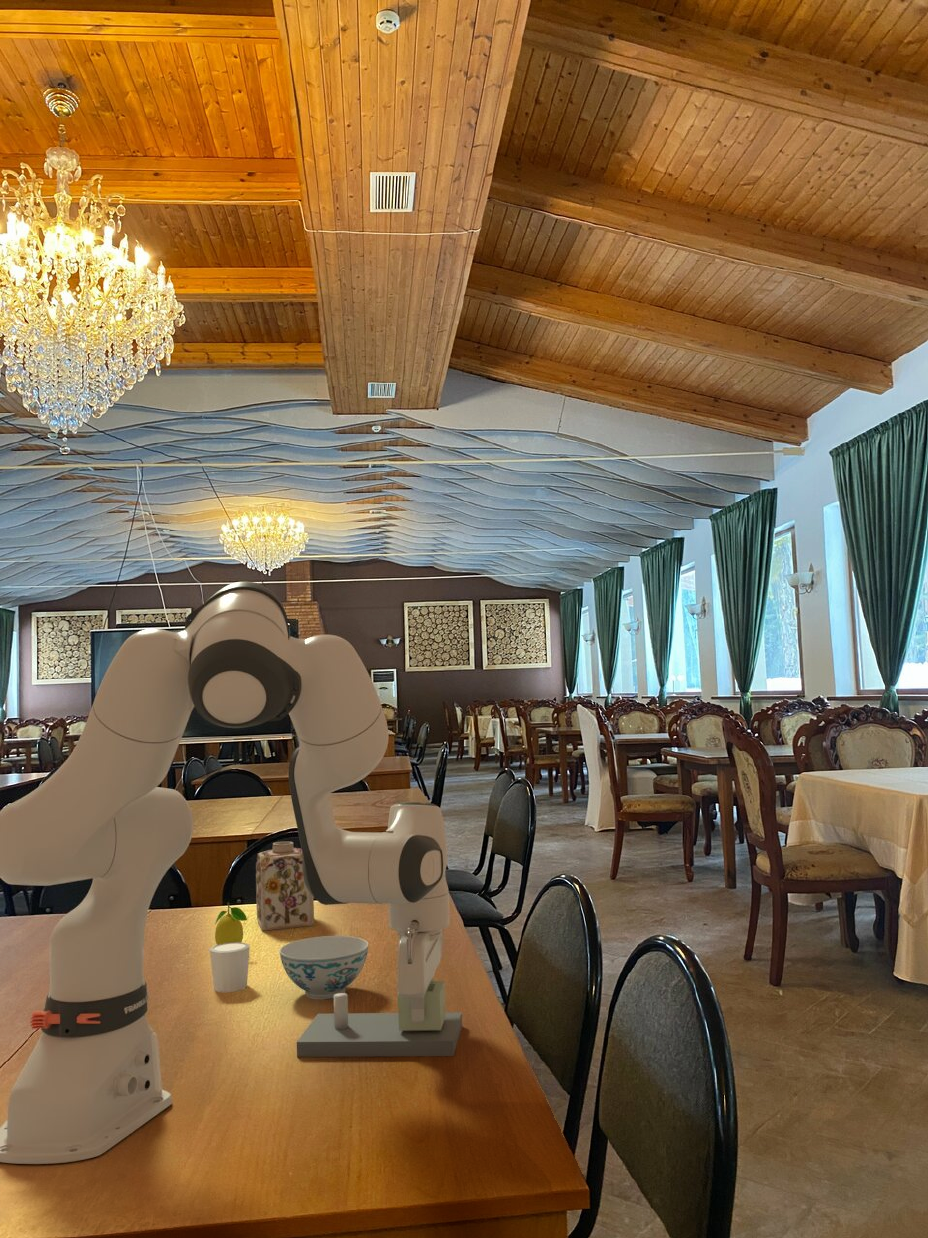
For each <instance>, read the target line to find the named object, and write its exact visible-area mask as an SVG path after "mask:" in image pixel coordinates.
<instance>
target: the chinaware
mask: <svg viewBox="0 0 928 1238" xmlns="http://www.w3.org/2000/svg"><path fill="white" fill-rule="evenodd" d="M368 953H369V942H368V941H367V940H365V939H363V938H360V937H356V936H347V935H346V936H345V935H325V936H316V937H315V936H313V937H309V938H303V939H302V938H301V939H299V940H294V941H292V942H288V943H287V944H285V945H282V947H280V949H279V957H280V961H281V963H282V967H283V969H284V971H285V973H286V975H287V976H288V978H289V979H290V980H291V981H292V983H293V984H295V985H296V986H297V987H298V988H300V989H301V990H303V991H304V992H305V996H306V997H307V998H309V999H313V1000H329V999H334V995H335V994H338V993H346V988H347V987H349V985H351V984H352V983H353V982H354V981H355V979H357V977H359V974H360V973H361V972H362V970H363V967H364V966H365V963H366V959H367V957H368Z"/></svg>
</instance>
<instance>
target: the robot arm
mask: <svg viewBox="0 0 928 1238" xmlns="http://www.w3.org/2000/svg"><path fill="white" fill-rule="evenodd" d="M288 631H289V619H288V615H287V613H286V609H285V607H284V605H283V603H282V601H281V600H280V599H279V597H278V596H277V594H275V593H274V592H273V591H272V590H271V589H269V588H268V587H267V586H264V585H262V584H260V583H257V582H253V581H238V582H234V583H233V582H232V583H230V584H228V585H226V586H224V587H222V588H221V589H220V590H218V591H216V592H215V593H214V594H213V595H211V597H209V598H208V599H207V600H206V601H205V602H203V603H202V604H201V605H200V606H198V607H197V608H196V609H194V610H192V611H191V612H190V613H188V615H187V616H186V618H185V622H184V629H183V630H182V631H179V632H177V631H175V632H174V631H170V630H166V629H160V628H148V629H143V630H139V631H137V632H134V633H133V634H132V635H130V636H129V637H128V638H127V639H126V640H125V641H123V643H122V645H121V646H120V648H118V651H117V652H116V654H115V655H114V657H113V658H112V660H111V663H110V664H109V666H108V667H107V670H106V672H105V674H104V676H103V678H102V679H101V683H100V685H99V686H98V690H97V691H96V692H97V693H96V695H95V697H94V701H93V703H92V705H91V708H90V711H89V714H88V717H87V718H86V719H87V720H86V721H85V722H86V723H85V724H84V727H83V729H82V732H81V734H80V737H79V739H78V741H77V743H76V745H75V747H74V749H73V750H72V752H71V753H70V755H69V756H68V757H67V759H66V760H65V761H64V762H63V763H62V764H61V766H59V767H58V769H57V770H56V771H54V773H53V774H52V775H51V776H50V777H48V778H47V779H46V780H44V782H43V783H42V784H40V785H39V786H38V787H36V788H35V789H34V790H32V791H31V792H30V793H28V794H26V795H25V796H23V797H21V798H19V799H17V800H15V801H14V802H12V803H9V804H7V805H5V806H4V807H3V808H2V809H0V879H1V880H2V881H3V882H4V883H6V884H8V885H17V886H38V887H39V886H41V887H42V886H43V887H44V886H47V887H48V886H53V885H60V884H66V883H73V882H78V881H85V880H91V879H92V883H91V886H90V888H89V890H88V893H87V894H86V895H85V897H84V898H83V900H82V901H81V902H80V903H79V904H78V905H77V906H76V907H74V909H71V910H70V911H69V912H67V913H66V914H65V915H64V916H63V917H62V918H60V919H59V921H58V922H57V923H56V925H55V926H54V928H53V929H52V933H51V935H50V938H49V993H48V994H47V996H46V999H45V1003H44V1006H43V1008H42V1010H35V1011H33V1012H32V1014H31V1017H30V1021H29V1023H30V1027H31V1029H32V1030H39V1029H40V1030H41V1032H42V1033H41V1034H40V1036H39V1039H38V1041H37V1042H36V1045H35V1047H34V1048H33V1049H32V1051H31V1054H30V1055H29V1057H28V1058H27V1060H26V1063H25V1065H24V1066H23V1068H22V1070H21V1072H20V1073H19V1075H18V1078H17V1080H16V1081H15V1083H14V1085H13V1086H12V1089H11V1090H10V1093H9V1096H8V1097H9V1098H8V1103H7V1104H8V1105H7V1117H6V1118H7V1119H6V1120H5V1122H3V1124H2V1125H1V1126H0V1163H7V1164H18V1165H19V1164H21V1165H22V1164H24V1165H25V1164H26V1165H42V1164H45V1165H49V1164H61V1163H71V1162H77V1161H78V1162H79V1161H83V1160H88V1159H91V1158H95V1157H99V1156H101V1155H103V1154H104V1153H106V1152H107V1151H108V1150H110V1149H111V1148H112V1147H114V1146H115V1145H117V1144H118V1143H119V1142H121V1141H122V1140H124V1139H126V1137H128V1136H129V1135H130V1134H132V1133H133V1132H135V1131H136V1130H138V1129H140V1127H142V1126H143V1125H145V1124H146V1123H147V1122H149V1121H151V1119H153V1118H155V1116H157V1115H159V1114H160V1113H162V1112H163V1111H164V1110H165V1109H167V1108H168V1107H170V1106H171V1105H172V1104H173V1098H172V1093H170V1092H169V1091H167V1090H164V1089H163V1085H162V1083H163V1082H162V1072H161V1061H160V1060H161V1059H160V1049H159V1039H158V1035H157V1033H156V1032H155V1030H153V1028H152V1027H151V1025H150V1023H149V1022H148V1020H147V1017H146V1013H147V1012H148V1000H149V992H148V986H147V982H146V981H145V980H144V949H145V948H144V947H145V946H144V945H145V944H144V943H145V928H146V923H147V918H148V917H147V915H148V913H149V909H150V906H151V902H152V899H153V897H154V895H155V892H156V891H157V888H158V887H159V884H160V883H161V882H162V879H163V878H164V876H165V875H166V874H167V872H168V871H169V869H170V868H171V867H172V866H173V865H174V863H175V862H177V861H178V860H179V858H181V857H182V856H183V855H184V854H185V852H186V851H187V849H188V848H189V845H190V843H191V841H192V838H193V835H194V834H193V833H194V827H195V825H194V816H193V815H194V814H193V811H192V809H191V806H190V804H189V802H188V801H187V800H186V798H185V797H184V796H183V794H182V793H180V792H179V791H178V790H176V789H173V788H166V787H159V786H160V784H161V783H162V782H163V781H164V779H165V778H166V776H167V775H168V772H169V771H170V768H171V765H172V763H173V761H174V758H175V755H176V752H177V750H178V748H179V745H180V743H181V740H182V738H183V735H184V733H185V730H186V727H187V724H188V723H189V720H190V716H191V714H192V711H193V710H194V708H195V709H196V711H197V712H198V713H199V715H200V716H201V717H202V718H203V719H204V720H205V721H208V722H209V723H211V724H213V725H216V726H217V727H220V728H221V727H222V728H227V729H229V728H230V729H244V728H250V727H255V726H259V725H262V724H264V723H266V722H277V721H281V720H283V718H285V717H286V716H287V715H289V717H290V720H291V723H292V727H293V728H294V730H295V733H296V736H297V739H298V743H299V744H298V745H299V746H298V747H297V748H295V750H294V751H293V753H292V755H291V757H290V760H289V764H288V785H289V787H288V788H289V791H290V792H289V793H290V798H291V804H292V809H293V814H294V818H295V824H296V828H297V832H298V838H299V843H300V847H301V849H302V867H303V878H304V883H305V885H306V887H307V889H308V890H309V892H310V893H311V894H312V895H313V897H314V899H315V900H316V901H317V902H318V903H320V904H321V905H323V906H331V905H347V904H367V905H371V904H373V905H383V904H384V905H387V904H388V926H389V929H390V930H392V931H396V932H397V938H398V939H399V943H398V948H397V993H399V996H400V997H401V998H409V1002H410V1006H411V1015H412V1021H414V1022H422V1021H424V1018H425V1016H426V1015H425V1004H424V996H425V993H426V991H427V989H428V987H429V984H430V982H431V981H434V975H435V973H436V971H437V968H438V966H439V964H440V962H441V960H442V953H443V945H444V943H443V942H444V929H445V928H447V927H448V926H450V898H449V897H450V895H449V893H450V892H449V886H448V883H447V878H446V869H447V866H448V847H447V846H448V845H447V837H446V829H445V823H444V818H443V817H444V816H443V813H442V810H441V808H440V807H439V806H438V805H436V804H434V803H431V802H419V801H402V802H396V803H394V804H392V805H391V806H390V807H389V812H388V820H387V822H388V823H387V829H386V830H385V831H383V832H378V831H377V832H371V831H370V832H368V831H365V832H362V831H350V830H346V829H342V828H341V827H339V826H337V824H336V819H335V813H334V808H333V804H332V797H331V793H334V792H335V791H338V790H340V789H343V788H346V787H347V788H348V787H349V786H352V785H355V784H356V783H358V782H360V781H361V780H363V779H365V778H366V777H367V776H368V775H370V774H371V773H372V772H373V771H374V770H375V769H376V768H377V767H378V766H379V764H380V763H381V761H382V759H383V758H384V756H385V753H386V751H387V749H388V744H389V727H388V722H387V718H386V714H385V712H384V710H383V706H382V704H381V700H380V698H379V695H378V692H377V689H376V687H375V684H374V682H373V680H372V679H371V676H370V673H369V672H368V670H367V667H366V666H365V664H364V663H363V661H362V659H361V657H360V656H359V654H358V652H357V651H356V649H355V648H354V646H353V645H352V644H351V643H350V642H349V641H348V640H346V639H345V638H343V637H341V636H338V635H334V634H318V635H313V636H310V637H308V638H296V637H294V636H292V635H290V636H289V633H288ZM285 710H286V711H285ZM283 711H285V712H284V713H282V712H283ZM281 713H282V714H281ZM280 714H281V715H280Z"/></svg>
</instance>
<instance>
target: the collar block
mask: <svg viewBox="0 0 928 1238" xmlns="http://www.w3.org/2000/svg"><path fill="white" fill-rule="evenodd" d="M445 986H446V984H445V981H444V980H441V981H440V980H437V981H436V980H435V981H434V980H433V981H431V982H430V984H429V987H428V989H427V991H426V993H425V996H424V1004H425V1015H426V1016H425V1018H424V1021H422V1022H414V1021H412V1015H411V1006H410V1002H409V998H401V997H400V996H399V992H397V1007H398V1008H397V1013H398V1021H399V1030H441V1029H442V1026H443V1023H444V1020H445V1017H446V1011H447V1010H446V1008H447V1007H446V987H445Z"/></svg>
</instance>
